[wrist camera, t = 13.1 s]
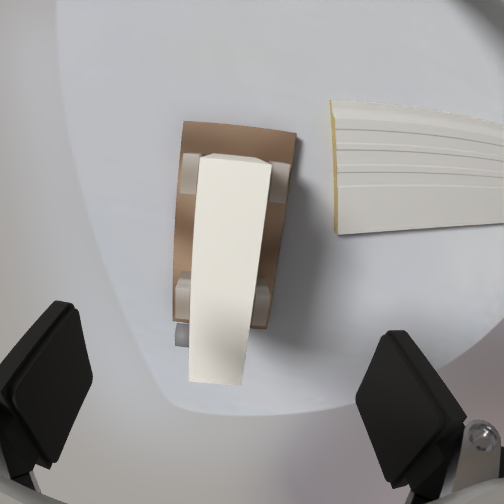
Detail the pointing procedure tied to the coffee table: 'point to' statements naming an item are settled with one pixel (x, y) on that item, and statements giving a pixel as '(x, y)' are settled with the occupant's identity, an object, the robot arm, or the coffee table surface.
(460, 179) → the baseboard molding
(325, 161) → the coffee table surface
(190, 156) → the hinge mount
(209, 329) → the cabinet door
